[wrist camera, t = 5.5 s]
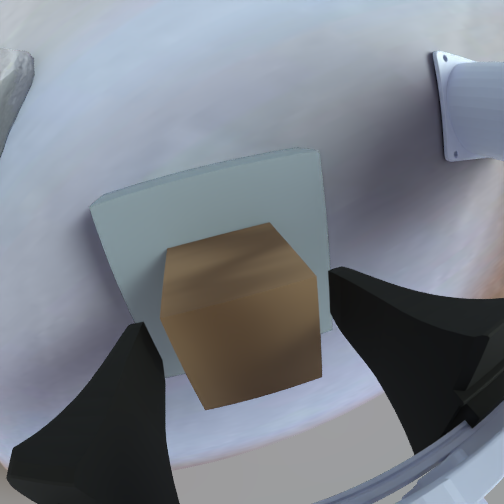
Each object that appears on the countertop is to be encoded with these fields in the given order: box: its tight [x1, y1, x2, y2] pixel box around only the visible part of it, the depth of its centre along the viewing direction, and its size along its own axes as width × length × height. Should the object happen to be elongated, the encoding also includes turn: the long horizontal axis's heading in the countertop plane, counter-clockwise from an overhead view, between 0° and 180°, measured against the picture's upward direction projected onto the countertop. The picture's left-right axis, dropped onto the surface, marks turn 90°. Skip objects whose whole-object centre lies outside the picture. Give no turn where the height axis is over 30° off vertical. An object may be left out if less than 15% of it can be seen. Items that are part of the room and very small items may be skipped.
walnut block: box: [160, 222, 322, 410], centre depth 11 cm, size 4×4×5 cm
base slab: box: [89, 147, 332, 378], centre depth 15 cm, size 10×10×3 cm
